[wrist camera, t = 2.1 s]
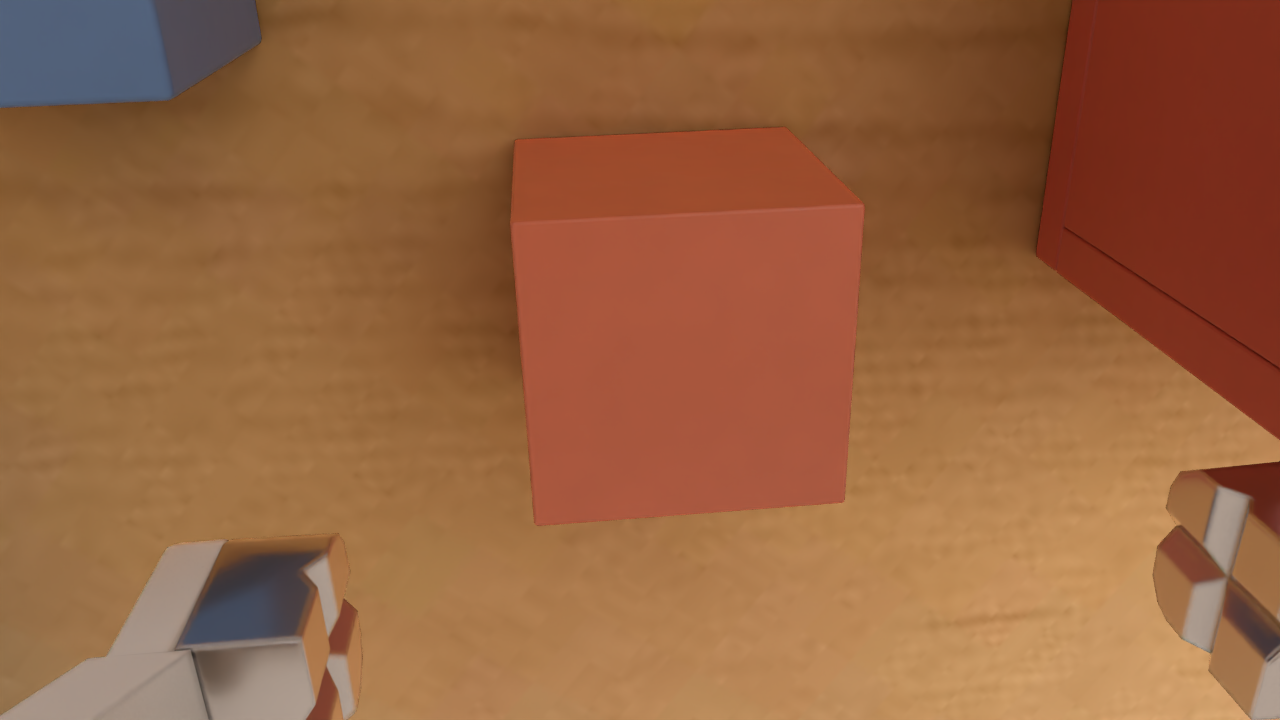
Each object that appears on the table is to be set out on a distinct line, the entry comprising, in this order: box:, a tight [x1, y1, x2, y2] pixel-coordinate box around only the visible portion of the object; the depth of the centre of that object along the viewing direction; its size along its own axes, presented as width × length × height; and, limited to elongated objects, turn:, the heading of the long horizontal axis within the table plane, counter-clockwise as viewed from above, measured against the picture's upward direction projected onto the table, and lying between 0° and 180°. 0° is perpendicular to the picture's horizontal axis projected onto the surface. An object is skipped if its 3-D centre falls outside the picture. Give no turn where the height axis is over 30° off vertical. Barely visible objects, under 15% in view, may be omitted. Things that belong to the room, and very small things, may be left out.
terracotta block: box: [510, 127, 865, 526], centre depth 16 cm, size 4×4×4 cm
